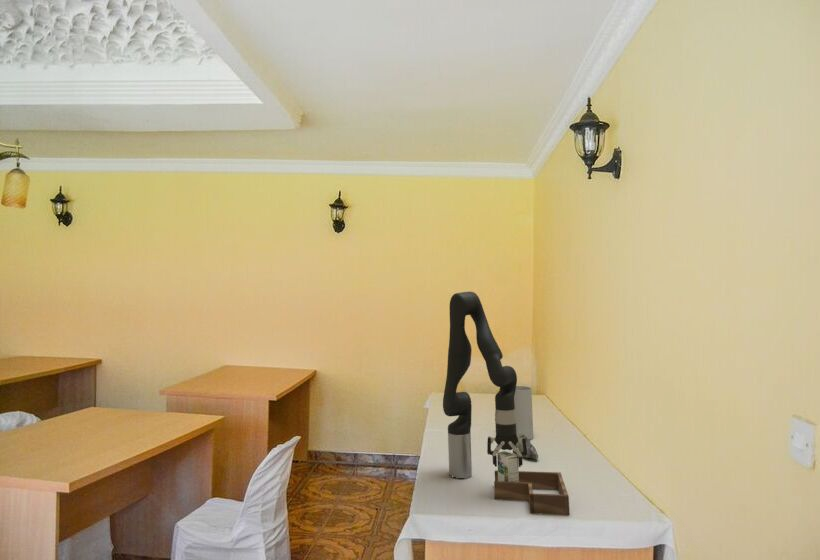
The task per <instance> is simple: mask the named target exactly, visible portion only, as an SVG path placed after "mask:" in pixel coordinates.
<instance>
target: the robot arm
mask: <svg viewBox="0 0 820 560" xmlns="http://www.w3.org/2000/svg"><path fill="white" fill-rule="evenodd" d="M466 316H470V318H471V319H472V320H473V322H474V324H475V329H476V330H475V331H476V334H475V335H476V337H475V338H476V344H477V345H476V346H477V348H478V349H479V352H480V354H481V356H482V358H483V359H484V361H485V362H484V363H485V366H486V369H487V373H488V377H489V379H490V381H491V383H492V384H493V385H494V386H496V387H498V388H499V390H498V391H497V393H496V394H495V396H494V403H495V405H494V406H495V408H494V410H495V412H494V421H495V422H494V424H495V437H494V436H493V437H491V436H489V435H488V437H487V442H486V443H487V444H486V445H487V449H486V451H487V452H486V453H487V454H488V455H491V456H492V464H493V466H494V467H497V468H498V459H497V453H499V452H500V450H502V451H513V450H514V451H515V452H516V453H517V454H518V468H521V467H522V466H523V457H522V456H524V455H527V448H526V439H525V437H522V438H518V437H517V430H516V414H515V403H514V395H515V391H516V386H517V383H518V376H517V372H516V370H515V369H514V367H512V366H511V365H510V366H509V365H504V366H503V364H502V361H501V360H502V359H503V357H504V356H503V352H502V350H501V348H500V346H499V345H498V343H497V340H496V338H495V337H494V335H493V333H492V330H491V328H490V324H489V321H488V320H487V316H486V313H485V311H484V307H483V304H482V301H481V299H480V298H479V295H478V294H477V293H476V292H474V291H463V292H457V293H456V292H455V293H454V294H452V296H451V297H450V301H449V336H448V337H449V339H448V348H447V349H448V352H447V366H446V378H445V386H444V392H443V397H442V410H443V413H444V415H446V416H447V417H457V416H458V417H457V418H456V419H455V420H454V421H453V422H450V423H449V424H448V426H447V442H448V444H447V445H448V446H447V447H448V474H450V475H451V476H453V477H456V478H455V479H458V478H464V479H469V478H470V477H472V476H473V472H472V471H473V467H472V466H473V465H472V464H473V462H472V441H471V440H472V437H471V435H472V434H471V429H472V428H471V427H472V407H473V406H472V398H471V396H470V394H469V393H468V392H466V391H458V392H457V389H458V386H459V383H460V382H461V380H462V379H463V377H464V376H465V374H466V373H467V371H468V369H469V367H470V366H471V361H472V352H473V351H472V345H471V342H470V340H469V336H468V335H467V333H466V330H465V329H466V328H465V327H466V326H465V325H466ZM518 441H520V443H521V444H523V451H520V450H519V448H518V447H517V446H516V444H517V443H518ZM493 443H496V444H497V445H496V446H495V448H494V450H492V444H493ZM450 475H449V476H450ZM451 476H450V477H451ZM453 477H452V478H453Z"/></svg>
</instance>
